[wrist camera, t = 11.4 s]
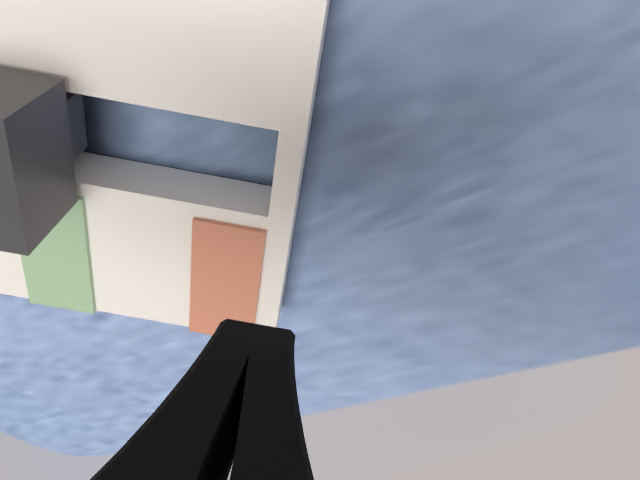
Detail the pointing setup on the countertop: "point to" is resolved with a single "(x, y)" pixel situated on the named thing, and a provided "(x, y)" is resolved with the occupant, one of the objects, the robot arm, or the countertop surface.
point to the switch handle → (36, 156)
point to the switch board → (163, 182)
